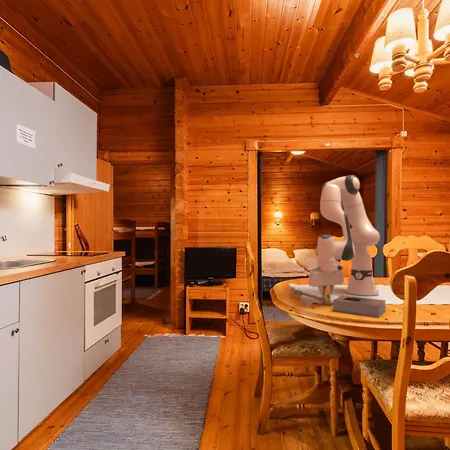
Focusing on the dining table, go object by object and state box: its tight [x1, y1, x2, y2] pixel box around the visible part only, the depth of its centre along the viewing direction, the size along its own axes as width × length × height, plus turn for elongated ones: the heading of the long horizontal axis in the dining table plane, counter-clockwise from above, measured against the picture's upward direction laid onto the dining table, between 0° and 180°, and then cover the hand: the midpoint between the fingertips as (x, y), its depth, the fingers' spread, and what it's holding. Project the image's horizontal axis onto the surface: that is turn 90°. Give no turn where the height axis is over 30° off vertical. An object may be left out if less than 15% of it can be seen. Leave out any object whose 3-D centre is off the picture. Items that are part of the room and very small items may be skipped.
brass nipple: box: [321, 285, 331, 306], centre depth 173 cm, size 4×4×10 cm
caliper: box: [288, 286, 322, 301], centre depth 187 cm, size 20×1×6 cm, turn 64°
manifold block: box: [332, 294, 386, 318], centre depth 160 cm, size 14×20×5 cm
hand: (326, 294), depth 173 cm, fingers closed on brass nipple, 4 cm apart
